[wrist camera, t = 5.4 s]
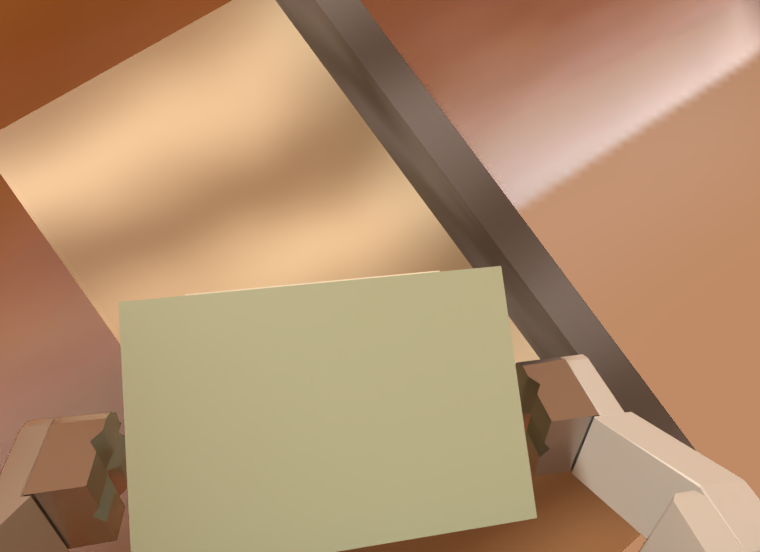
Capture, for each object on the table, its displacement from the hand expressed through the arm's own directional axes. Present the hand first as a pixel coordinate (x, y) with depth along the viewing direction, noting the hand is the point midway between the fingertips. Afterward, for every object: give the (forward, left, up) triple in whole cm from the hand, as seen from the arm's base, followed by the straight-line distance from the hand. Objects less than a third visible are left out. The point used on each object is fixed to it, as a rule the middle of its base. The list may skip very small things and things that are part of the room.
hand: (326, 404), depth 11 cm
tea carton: (0, 0, -7) cm, 7 cm away
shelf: (-1, +2, -8) cm, 9 cm away
